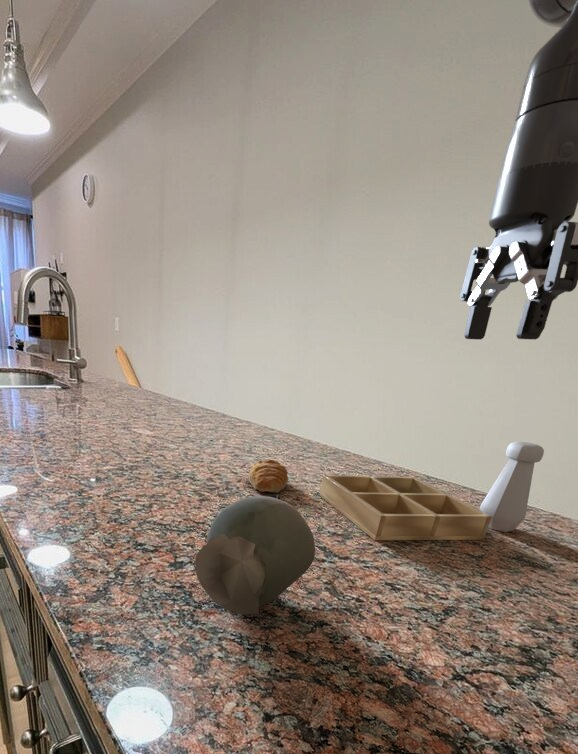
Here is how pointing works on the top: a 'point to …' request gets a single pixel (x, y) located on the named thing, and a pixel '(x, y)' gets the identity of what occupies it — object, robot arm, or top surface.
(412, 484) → the grid
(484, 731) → the top surface
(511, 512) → the salt shaker
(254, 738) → the top surface
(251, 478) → the pastry
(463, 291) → the robot arm
